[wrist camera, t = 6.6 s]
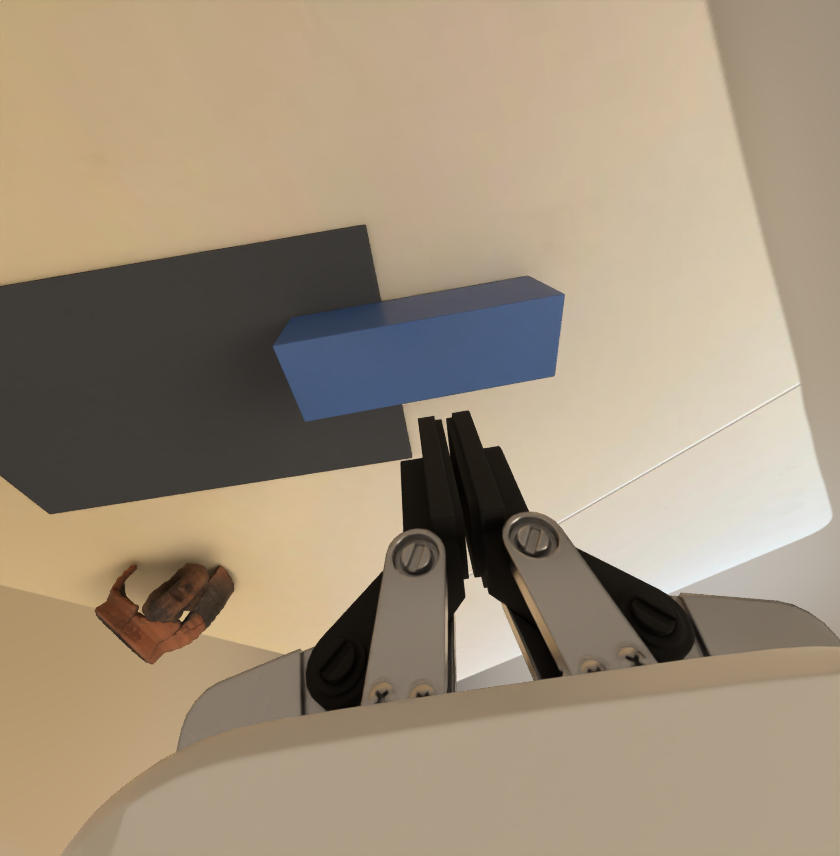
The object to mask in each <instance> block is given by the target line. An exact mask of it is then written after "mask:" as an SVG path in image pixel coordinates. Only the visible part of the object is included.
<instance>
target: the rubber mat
mask: <svg viewBox="0 0 840 856" xmlns="http://www.w3.org/2000/svg"><path fill="white" fill-rule="evenodd" d="M377 302H381V298H380V294H379V289H378V284H377V279H376V274H375V269H374V264H373V259H372V254H371V249H370V244H369V239H368V234H367V229H366V225H359V226H353V227H347V228H341V229H335V230H329V231H323V232H318V233H312V234H306V235H300V236H294V237H288V238H282V239H276V240H270V241H264V242H258V243H253V244H247V245H241V246H235V247H229V248H223V249H217V250H211V251H205V252H199V253H193V254H187V255H182V256H176V257H170V258H164V259H158V260H152V261H146V262H140V263H134V264H128V265H122V266H117V267H111V268H105V269H99V270H93V271H87V272H81V273H75V274H69V275H63V276H57V277H52V278H46V279H40V280H34V281H28V282H22V283H16V284H10V285H4V286H0V476H1V477H3V478H4V479H5V480H7V481H8V482H9V483H10V484H12V485H13V486H14V487H15V488H17V489H18V490H19V491H21V492H22V493H23V494H24V495H26V496H27V497H28V498H29V499H31V500H32V501H33V502H35V503H36V504H37V505H38V506H40V507H41V508H42V509H43V510H45V511H46V512H47V513H49V514H55V513H62V512H68V511H75V510H81V509H87V508H94V507H100V506H107V505H113V504H120V503H126V502H132V501H139V500H145V499H152V498H158V497H164V496H171V495H177V494H184V493H190V492H196V491H203V490H209V489H216V488H222V487H229V486H235V485H241V484H248V483H254V482H261V481H267V480H273V479H280V478H286V477H293V476H299V475H305V474H312V473H318V472H325V471H331V470H338V469H344V468H350V467H357V466H363V465H370V464H376V463H382V462H389V461H395V460H402V459H408V458H412V452H411V447H410V442H409V437H408V432H407V428H406V423H405V418H404V413H403V408H402V404H399V405H394V406H388V407H383V408H378V409H372V410H367V411H361V412H356V413H350V414H345V415H339V416H334V417H328V418H323V419H317V420H312V421H306V422H305V421H304V419H303V416H302V414H301V412H300V409H299V407H298V405H297V402H296V400H295V398H294V395H293V393H292V391H291V388H290V386H289V384H288V381H287V379H286V377H285V374H284V372H283V370H282V367H281V365H280V363H279V360H278V358H277V356H276V353H275V351H274V349H273V345H274V343H275V342H276V340H277V339H278V337H279V336H280V334H281V333H282V331H283V329H284V328H285V326H286V325H287V323H288V322H289V320H290V319H291V318H292V317H297V316H303V315H309V314H315V313H320V312H326V311H332V310H337V309H343V308H349V307H354V306H360V305H366V304H371V303H377Z"/></svg>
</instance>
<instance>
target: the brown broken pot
mask: <svg viewBox="0 0 840 856" xmlns="http://www.w3.org/2000/svg"><path fill="white" fill-rule="evenodd" d="M136 569H137V566H136V565H132V566H130V567H129V569H128V570H126V571H124V573H123V574H122V575H121V576H120V577H119V578H118V579H117V581H116V582H115V584H114V585H113V587H112V589H111V590H110V594H109V597H108V598H107V601H106V602H105V603H103V604H102V605H100V606H98V607H96V609H95V612H96V616H97V617H98V618H99V620H101V621H102V622H103V624H104V625H106V627H108V628H109V629H110V630H111V631H112V632H113V633H114V634H115V635H116V636H117V637H118V638H119V639H120V640H121V641H122V642H123V643H124V644H125V645H126V646H127V647H129V648H130V649H131V650H132V652H134V653H135V654H137V655H138V656H139V657H140V658H141V659H142V660H144V661H145V662H147V663H150V664H154V663H155V662H156V661H157V660H158V659H159V658H160V657H161V656H162V655H163V654H164V653H166V652H170V651H174V650H176V649H180V648H182V647H184V646H186V645H188V644H190V643H191V642H192V641H193V640H195V639H197V638H198V637H199V635H200V634H201V633H202V632H203V631H205V629H206V628H208V627H209V626H210V624H211V623H212V622H213V621H214V620H215V618H216V616H217V615H218V614H219V613H220V611H221V610H222V609H223V608H224V606H225V604H226V602H227V600H228V599H229V597H230V595H231V594H232V593H233V592H234V583H233V581H232V579H231V577H230V576H229V574H228V573H227V572H226V570H225V569H224V568H223V567H221V566H220V567H218V568H217V569H216V571H215V573H214V574H213V576H211V577H210V578H209V579H208V572H207V570H206V568H205V567H204V566H202V565H199V564H192V563H187V564H185V566H184V567H183V568H181V569H179V570H178V571H177V573H176V574H175V575H174V576H173V577H172V578H171V579H170V580H169V581H167V582H164V583H163V584H162V585H161V586H160V587H159V588H157V589H156V590H154V591H153V592H152V593H151V594H150V595H149V597H148V599H147V600H146V602H145V603H144V605H143V607H142V612H143V614H144V615H145V616H144V615H143V614H141V613H139V612H138V609H139V606H138V605H135V604H134V603H133V602H132V601H131V600H130V599H129V598H128V597H127V596H126V593H125V581H126V579H127V578H128V577H129V576H130V575H131V574H132V573H133V572H134V571H135V570H136ZM183 611H190V612H189V614H188V615H187V617H186V618H185V620H184V621H183V622H181V621H180V620H179V618H180V617H181V616H182V614H183Z"/></svg>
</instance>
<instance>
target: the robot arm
mask: <svg viewBox="0 0 840 856" xmlns="http://www.w3.org/2000/svg"><path fill="white" fill-rule="evenodd" d="M446 422H447V431H448V441H449V450H450V454H449V450H448V446H447V442H446V437H445V433H444V429H443V424H442V420H441V419H440V420H435V418H434V416H430V417H424V418H418V424H419V432H420V440H421V447H422V455H423V458H419V459H413V460H406V461H401V488H402V511H403V533H401V534H399V535H398V536H397V537H396V538H394V540H393V541H392V542H391V544H390V545H389V547H388V550H387V553H386V558H385V564H384V570H383V571H382V572H381V573H380V575H379V576H378V577H377V578H376V579H375V580H374V581H373V582H372V583H371V584H370V585H369V587H368V588H367V589H366V590H365V591H364V592H363V593H362V594H361V595H360V596H359V597H358V599H357V600H356V601H355V602H354V603H353V604H352V605H351V606H350V607H349V608H348V609H347V611H346V612H345V613H344V614H343V615H342V616H341V617H340V618H339V619H338V620H337V621H336V622H335V624H334V625H333V626H332V627H331V628H330V629H329V630H328V631H327V632H326V633H325V634H324V636H323V637H322V638H321V639H320V640H319V642H318V643H317V644H316V646H315V647H312V648H310V649H308V650H305V651H302V650H301V649H298V650H295V651H293V652H291V653H288V654H286V655H283V656H281V657H278V658H276V659H274V660H271V661H269V662H267V663H264V664H261V665H259V666H257V667H254V668H252V669H249V670H247V671H245V672H242V673H240V674H237V675H235V676H232V677H230V678H228V679H225V680H223V681H220V682H218V683H216V684H215V685H213V686H211V687H210V688H208V689H207V690H206V691H205V692H204V693H203V694H202V695H201V696H200V697H199V698H198V699H197V700H196V701H195V702H194V704H193V706H192V707H191V709H190V710H189V712H188V713H187V715H186V718H185V720H184V724H183V726H182V729H181V733H180V737H179V742H178V747H177V751H176V752H175V753H173V754H172V755H170V756H168V757H166V758H164V759H162V760H160V761H159V762H157V763H156V764H154V765H153V766H152V767H150V768H149V769H147V770H145V771H144V772H143V773H141V774H139V775H138V776H137V777H135V778H134V779H132V780H131V781H130V782H129V783H127V784H126V785H125V786H124V787H123V788H121V789H120V790H119V791H117V792H116V793H115V794H114V795H113V796H111V797H110V798H109V799H108V800H107V801H106V802H105V803H104V804H103V805H102V806H101V807H100V808H99V809H98V810H96V811H95V813H94V814H93V815H92V816H91V817H90V818H89V819H88V820H87V822H86V823H85V824H84V825H83V826H82V828H81V829H80V830H79V831H78V833H77V834H76V835H75V837H74V838H73V839H72V840H71V842H70V843H69V844H68V846H67V847H66V849H65V850H64V852H63V853H62V854H61V856H840V639H839V638H838V637H837V636H836V635H835V634H834V632H833V631H832V630H831V629H830V628H829V627H827V625H826V624H825V623H824V622H822V621H821V620H819V619H818V618H816V617H815V616H814V615H812V614H811V613H809V612H808V611H806V610H803V609H801V608H799V607H797V606H795V605H793V604H789V603H784V602H780V601H774V600H762V599H750V598H738V597H726V596H714V595H703V594H691V593H680V595H679V596H669V595H667V594H666V593H664V592H662V591H661V590H659V589H657V588H655V587H653V586H651V585H649V584H647V583H645V582H643V581H641V580H639V579H637V578H635V577H634V576H632V575H630V574H628V573H626V572H624V571H622V570H620V569H618V568H616V567H614V566H612V565H610V564H608V563H606V562H604V561H602V560H600V559H598V558H596V557H594V556H592V555H590V554H588V553H586V552H584V551H582V550H580V549H578V548H576V547H575V546H574V545H573V543H572V542H571V541H570V539H569V538H568V536H567V535H566V534H565V532H564V531H563V529H562V528H561V527H560V526H559V525H558V524H557V523H556V522H555V521H554V520H553V519H551V518H549V517H548V516H546V515H543V514H540V513H537V512H529V510H528V508H527V506H526V504H525V501H524V499H523V497H522V494H521V492H520V490H519V488H518V485H517V483H516V481H515V479H514V476H513V474H512V472H511V469H510V467H509V465H508V463H507V460H506V458H505V456H504V454H503V451H502V449H501V448H500V447H499V446H496V447H490V448H483V447H482V444H481V441H480V439H479V436H478V433H477V431H476V428H475V425H474V423H473V420H472V417H471V414H470V412H469V411H462V412H456V413H452V418H446ZM465 538H466V540H465ZM466 542H467V547H468V551H469V556H470V560H471V565H472V569H473V573H474V577H481V578H482V582H483V586H484V588H488V592H489V594H490V595H492V596H493V597H494V598H496V599H497V600H499V601H500V602H501V603H502V607H503V610H504V612H505V615H506V617H507V619H508V622H509V624H510V626H511V629H512V631H513V633H514V636H515V638H516V640H517V643H518V645H519V647H520V650H521V652H522V654H523V657H524V659H525V661H526V664H527V666H528V668H529V671H530V673H531V675H532V678H533V680H534V681H530V682H523V683H516V684H509V685H502V686H495V687H488V688H481V689H474V690H467V691H460V692H457V688H456V687H457V686H456V685H457V684H456V623H455V611H456V610H457V609H458V607H459V606H460V604H461V603H462V601H463V600H464V598H465V588H464V579H469V573H468V562H467V551H466Z"/></svg>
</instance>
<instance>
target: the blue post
mask: <svg viewBox="0 0 840 856" xmlns="http://www.w3.org/2000/svg"><path fill="white" fill-rule="evenodd" d="M564 297H565V294H563V293H561V292H559V291H557V290H555V289H553V288H551V287H549V286H547V285H546V284H544V283H542V282H540V281H538V280H536V279H534V278H532V277H530V276H525V277H519V278H513V279H508V280H502V281H496V282H491V283H485V284H479V285H474V286H468V287H462V288H456V289H451V290H445V291H439V292H434V293H428V294H422V295H417V296H411V297H405V298H400V299H394V300H388V301H383V302H377V303H371V304H366V305H360V306H354V307H349V308H343V309H337V310H332V311H326V312H320V313H315V314H309V315H303V316H297V317H292V318H291V319H290V320H289V322H288V323H287V325H286V326H285V328H284V329H283V331H282V333H281V334H280V336H279V337H278V339H277V340H276V342H275V343H274V345H273V349H274V351H275V353H276V356H277V358H278V360H279V363H280V365H281V367H282V370H283V372H284V374H285V377H286V379H287V381H288V384H289V386H290V388H291V391H292V393H293V395H294V398H295V400H296V402H297V405H298V407H299V409H300V412H301V414H302V416H303V419H304V421H305V422H306V421H312V420H317V419H323V418H328V417H334V416H339V415H345V414H350V413H356V412H361V411H367V410H372V409H378V408H383V407H388V406H394V405H399V404H405V403H410V402H416V401H421V400H427V399H432V398H438V397H443V396H449V395H454V394H460V393H465V392H471V391H476V390H481V389H487V388H492V387H498V386H503V385H509V384H514V383H520V382H525V381H531V380H536V379H542V378H547V377H553V376H555V369H556V361H557V353H558V345H559V337H560V329H561V321H562V313H563V305H564Z"/></svg>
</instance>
